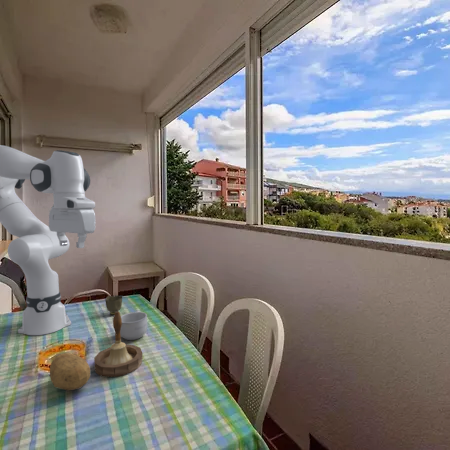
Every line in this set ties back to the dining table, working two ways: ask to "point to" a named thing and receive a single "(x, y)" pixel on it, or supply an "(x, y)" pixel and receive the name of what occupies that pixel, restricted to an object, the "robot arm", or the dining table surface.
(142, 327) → the teacup
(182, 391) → the dining table surface
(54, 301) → the robot arm
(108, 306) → the cup
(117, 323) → the hand bell
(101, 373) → the tray
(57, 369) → the potato
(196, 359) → the dining table surface
